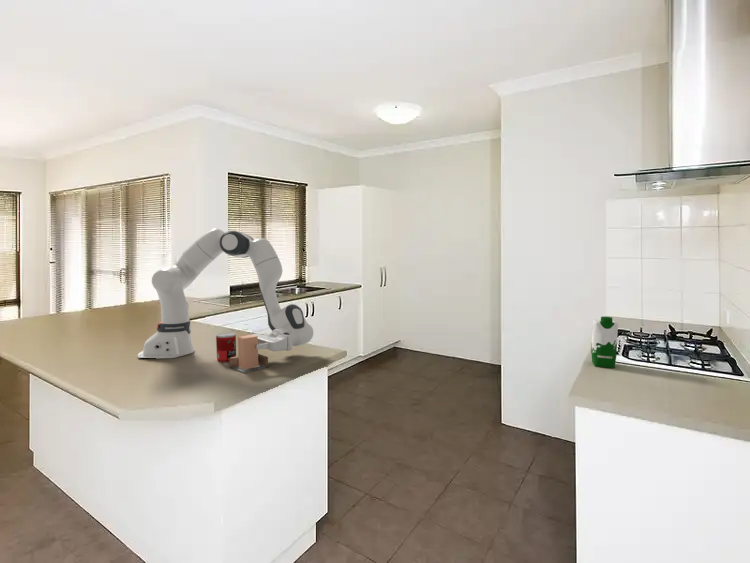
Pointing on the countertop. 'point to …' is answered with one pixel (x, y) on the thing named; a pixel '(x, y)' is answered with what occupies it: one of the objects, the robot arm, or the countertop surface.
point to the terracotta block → (247, 351)
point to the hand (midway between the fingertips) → (249, 345)
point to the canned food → (225, 346)
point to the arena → (261, 364)
